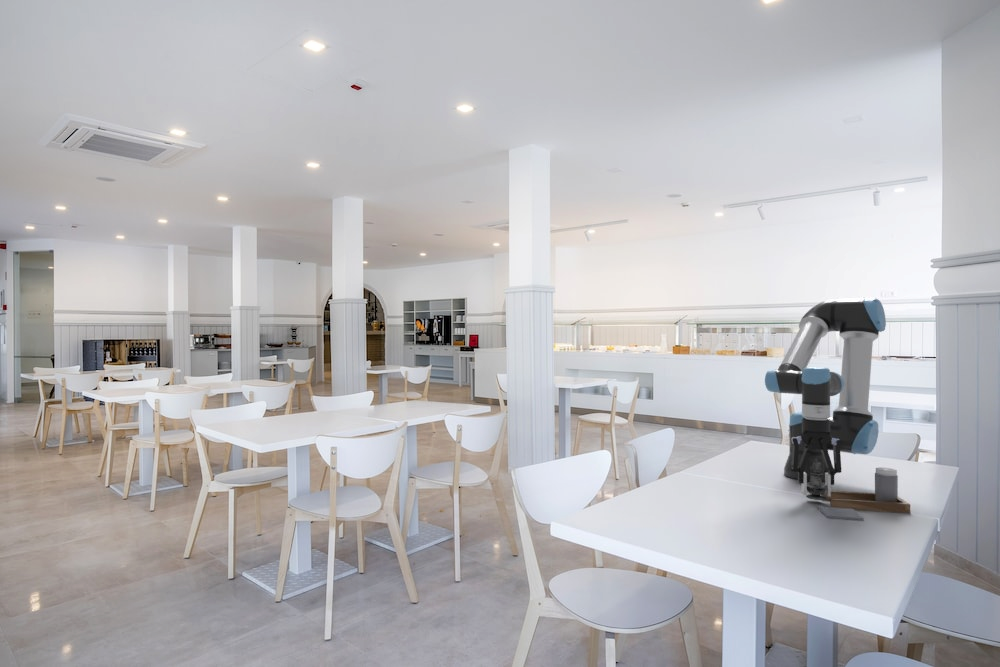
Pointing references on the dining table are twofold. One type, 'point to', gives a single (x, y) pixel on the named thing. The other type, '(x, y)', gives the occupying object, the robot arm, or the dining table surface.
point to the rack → (865, 502)
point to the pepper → (886, 485)
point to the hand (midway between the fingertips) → (815, 494)
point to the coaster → (840, 513)
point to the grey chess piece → (816, 482)
